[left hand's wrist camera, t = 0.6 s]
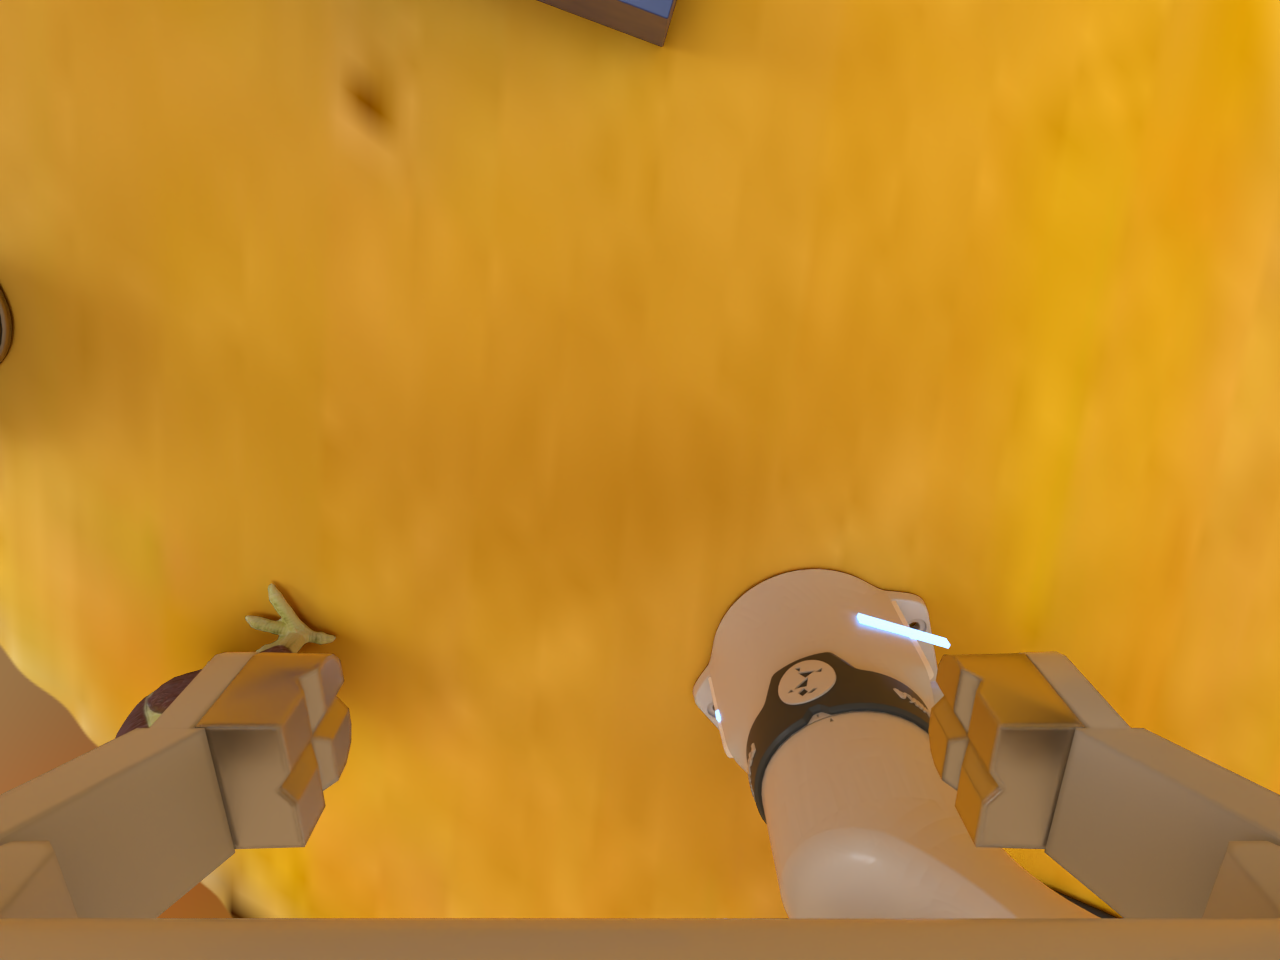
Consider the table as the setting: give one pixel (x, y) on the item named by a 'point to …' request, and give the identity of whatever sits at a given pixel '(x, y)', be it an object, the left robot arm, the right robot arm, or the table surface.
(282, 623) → the figurine
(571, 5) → the bar
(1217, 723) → the table surface
